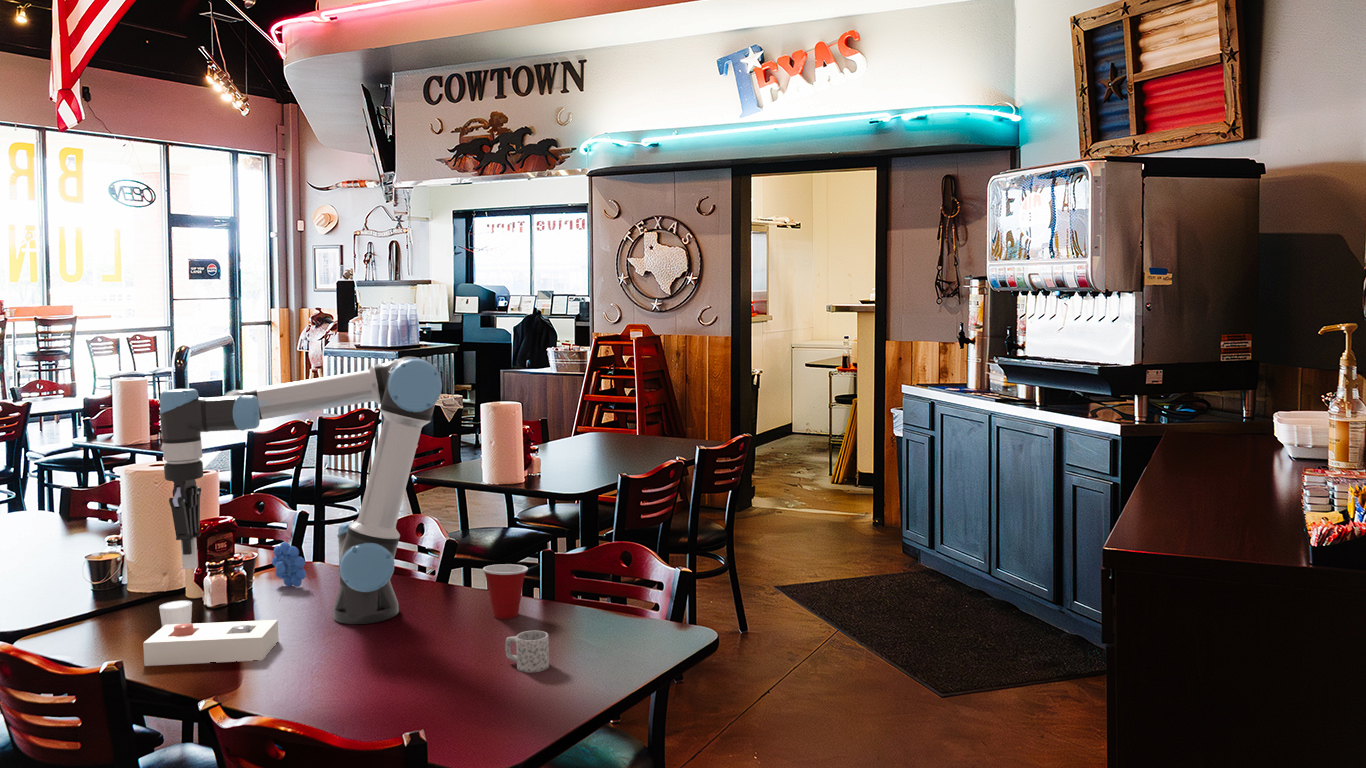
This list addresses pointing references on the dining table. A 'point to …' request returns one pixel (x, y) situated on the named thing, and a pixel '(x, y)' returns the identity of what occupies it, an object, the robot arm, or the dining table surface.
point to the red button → (183, 630)
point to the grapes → (289, 564)
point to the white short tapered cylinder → (176, 612)
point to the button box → (211, 643)
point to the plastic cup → (505, 588)
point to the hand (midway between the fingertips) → (190, 567)
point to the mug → (530, 651)
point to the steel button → (241, 629)
